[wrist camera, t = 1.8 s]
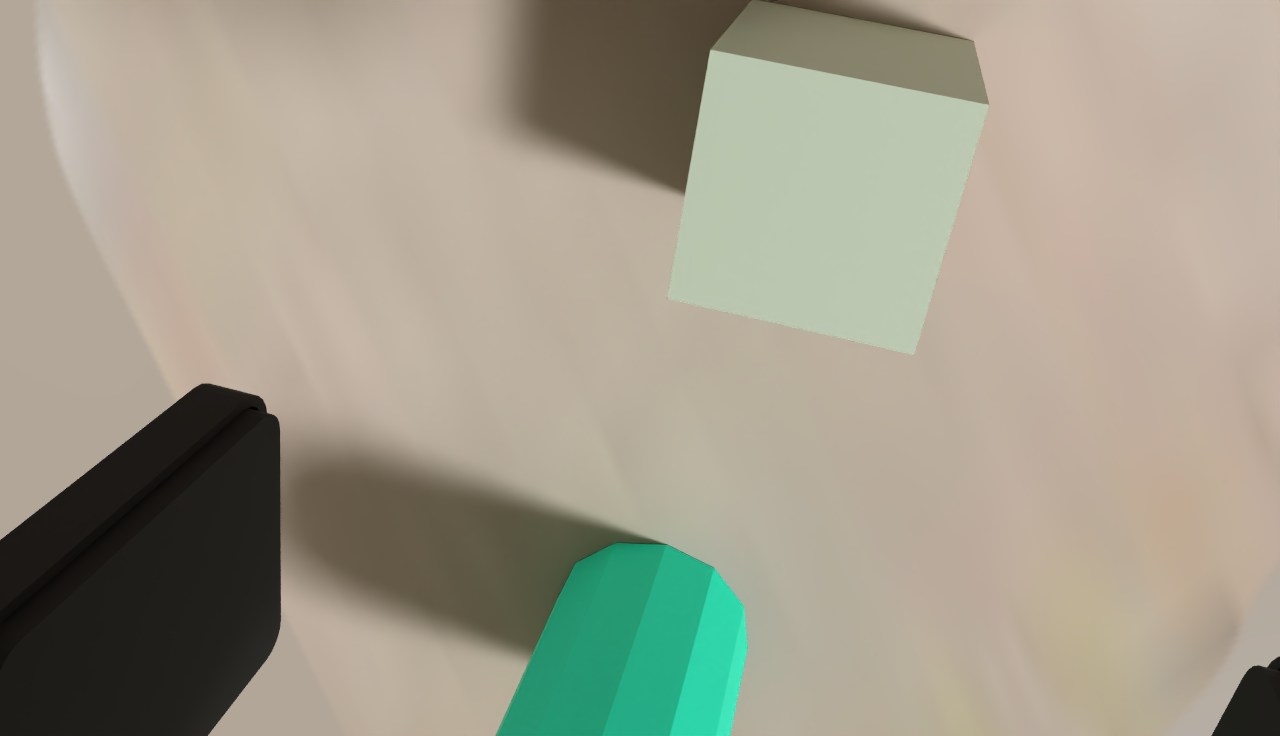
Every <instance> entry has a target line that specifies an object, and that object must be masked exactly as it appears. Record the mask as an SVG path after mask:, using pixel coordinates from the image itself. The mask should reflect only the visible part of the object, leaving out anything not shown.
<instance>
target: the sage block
mask: <svg viewBox="0 0 1280 736" xmlns="http://www.w3.org/2000/svg"><path fill="white" fill-rule="evenodd" d="M988 108H989V102H988V98H987V94H986V89H985V85H984V81H983V77H982V73H981V69H980V65H979V61H978V57H977V53H976V49H975V45H974V41H970V40H964V39H959V38H954V37H949V36H944V35H938V34H933V33H928V32H923V31H917V30H912V29H907V28H902V27H897V26H891V25H886V24H881V23H876V22H871V21H865V20H860V19H855V18H850V17H845V16H839V15H834V14H829V13H824V12H818V11H813V10H808V9H803V8H798V7H792V6H787V5H782V4H777V3H772V2H766V1H761V0H751V1H750V3H749V4H748V5H747V6H746V7H745V9H744V10H743V11H742V12H741V13H740V14H739V16H738V17H737V18H736V19H735V20H734V22H733V23H732V24H731V25H730V26H729V28H728V29H727V30H726V31H725V32H724V34H723V35H722V36H721V37H720V38H719V40H718V41H717V42H716V43H715V44H714V46H713V47H712V48H711V49H710V54H709V59H708V65H707V71H706V77H705V82H704V88H703V94H702V100H701V106H700V111H699V117H698V123H697V129H696V134H695V140H694V146H693V152H692V157H691V163H690V169H689V175H688V180H687V186H686V192H685V198H684V203H683V209H682V215H681V221H680V226H679V232H678V238H677V244H676V249H675V255H674V261H673V267H672V272H671V278H670V284H669V290H668V295H667V299H671V300H675V301H679V302H684V303H688V304H693V305H697V306H701V307H706V308H710V309H715V310H719V311H723V312H728V313H732V314H736V315H741V316H745V317H750V318H754V319H758V320H763V321H767V322H771V323H776V324H780V325H785V326H789V327H793V328H798V329H802V330H807V331H811V332H815V333H820V334H824V335H828V336H833V337H837V338H842V339H846V340H850V341H855V342H859V343H863V344H868V345H872V346H877V347H881V348H885V349H890V350H894V351H898V352H903V353H907V354H912V355H914V354H915V350H916V347H917V344H918V340H919V337H920V334H921V330H922V327H923V324H924V320H925V317H926V314H927V310H928V307H929V304H930V300H931V297H932V294H933V290H934V287H935V284H936V280H937V277H938V274H939V270H940V267H941V264H942V260H943V257H944V254H945V251H946V247H947V244H948V241H949V237H950V234H951V231H952V227H953V224H954V221H955V217H956V214H957V211H958V207H959V204H960V201H961V197H962V194H963V191H964V187H965V184H966V181H967V177H968V174H969V171H970V167H971V164H972V161H973V157H974V154H975V151H976V148H977V144H978V141H979V138H980V134H981V131H982V128H983V124H984V121H985V118H986V114H987V111H988Z"/></svg>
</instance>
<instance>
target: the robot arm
mask: <svg viewBox="0 0 1280 736" xmlns="http://www.w3.org/2000/svg"><path fill="white" fill-rule="evenodd" d="M280 622H281V560H280V426H279V421H278V419H277V417H276V416H274V415H272V414H268V413H267V410H266V406H265V403H264V401H263V399H261V398H260V397H259V396H256V395H252V394H248V393H244V392H240V391H237V390H233V389H229V388H225V387H221V386H217V385H213V384H201V385H199V386H197V387H195V388H194V389H192V390H191V391H190V392H189V393H187V394H186V395H185V396H183V397H182V398H181V399H180V400H178V401H177V402H176V403H175V404H173V405H172V406H171V407H170V408H168V409H167V410H166V411H164V412H163V413H162V414H161V415H159V416H158V417H157V418H155V419H154V420H153V421H152V422H150V423H149V424H148V425H146V427H144V428H143V429H142V430H140V431H139V432H138V433H136V434H135V435H134V436H133V437H131V438H130V439H129V440H127V441H126V442H125V443H124V444H122V445H121V446H120V447H118V448H117V449H116V450H115V451H114V452H112V453H111V454H110V455H108V456H107V457H106V458H105V459H103V460H102V461H101V462H99V463H98V464H97V465H95V466H94V467H93V468H92V469H91V470H89V471H88V472H87V473H85V474H84V475H83V476H82V477H80V478H79V479H78V480H77V481H75V482H74V483H73V484H71V485H70V486H69V487H67V488H66V489H65V490H64V491H62V492H61V493H60V494H58V495H57V496H56V497H55V498H53V499H52V500H51V501H50V502H48V503H47V504H46V505H45V506H43V507H42V508H41V509H39V510H38V511H37V512H36V513H34V514H33V515H32V516H30V517H29V518H28V519H27V520H25V521H24V522H23V523H22V524H21V525H19V526H18V527H17V528H15V529H14V530H13V531H11V532H10V533H9V534H7V535H6V536H5V537H4V538H2V539H1V540H0V736H208V734H209V733H210V732H211V731H212V729H213V728H214V727H215V725H216V724H217V723H218V721H219V720H220V719H221V717H222V716H223V715H224V714H225V713H226V711H227V710H228V709H229V707H230V706H231V705H232V704H233V702H234V701H235V700H236V698H237V697H238V696H239V694H240V693H241V692H242V690H243V689H244V688H245V687H246V685H247V684H248V683H249V681H250V680H251V679H252V677H253V676H254V675H255V674H256V672H257V671H258V670H259V669H260V667H261V666H262V665H263V663H264V662H265V661H266V660H267V658H268V656H269V655H270V653H271V652H272V649H273V647H274V645H275V643H276V640H277V637H278V634H279V630H280ZM1212 736H1280V657H1277V658H1276V659H1275V660H1273V661H1272V662H1271V663H1270V664H1269V666H1268V667H1267V668H1266V667H1262V666H1253V667H1252V668H1250V669H1249V670H1248V671H1247V672H1246V674H1245V675H1244V677H1243V678H1242V680H1241V682H1240V684H1239V686H1238V688H1237V690H1236V691H1235V693H1234V695H1233V697H1232V699H1231V701H1230V702H1229V704H1228V707H1227V708H1226V710H1225V712H1224V714H1223V715H1222V717H1221V719H1220V721H1219V723H1218V725H1217V727H1216V728H1215V730H1214V732H1213V734H1212Z"/></svg>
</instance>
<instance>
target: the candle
mask: <svg viewBox="0 0 1280 736" xmlns="http://www.w3.org/2000/svg"><path fill="white" fill-rule="evenodd" d="M747 648H748V646H747V635H746V624H745V614H744V606H743V605H742V603H741V602H740V601H739V599H738V598H737V597H736V596H735V594H734V593H733V592H732V590H731V589H730V588H729V587H728V585H727V584H726V583H725V581H724V580H723V579H722V578H721V576H720V575H719V574H718V572H717V571H716V570H715V569H714V568H713V567H711V566H709V565H707V564H705V563H703V562H701V561H699V560H697V559H695V558H693V557H691V556H689V555H686V554H684V553H682V552H680V551H678V550H676V549H674V548H672V547H670V546H668V545H661V544H631V543H614V544H612V545H610V546H608V547H606V548H604V549H602V550H600V551H598V552H596V553H594V554H592V555H590V556H588V557H586V558H584V559H582V560H580V561H578V562H576V563H575V565H574V567H573V569H572V571H571V573H570V575H569V577H568V579H567V581H566V583H565V585H564V587H563V589H562V591H561V593H560V595H559V596H558V599H557V601H556V603H555V605H554V607H553V610H552V612H551V614H550V616H549V618H548V621H547V623H546V625H545V627H544V630H543V632H542V634H541V636H540V638H539V641H538V643H537V645H536V647H535V649H534V652H533V654H532V656H531V658H530V661H529V663H528V665H527V667H526V669H525V672H524V674H523V676H522V678H521V681H520V683H519V685H518V687H517V689H516V692H515V694H514V696H513V698H512V700H511V703H510V705H509V707H508V709H507V712H506V714H505V716H504V718H503V720H502V723H501V725H500V727H499V729H498V731H497V734H496V736H730V733H731V728H732V723H733V718H734V713H735V708H736V703H737V698H738V693H739V688H740V683H741V678H742V673H743V668H744V663H745V658H746V653H747Z"/></svg>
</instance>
